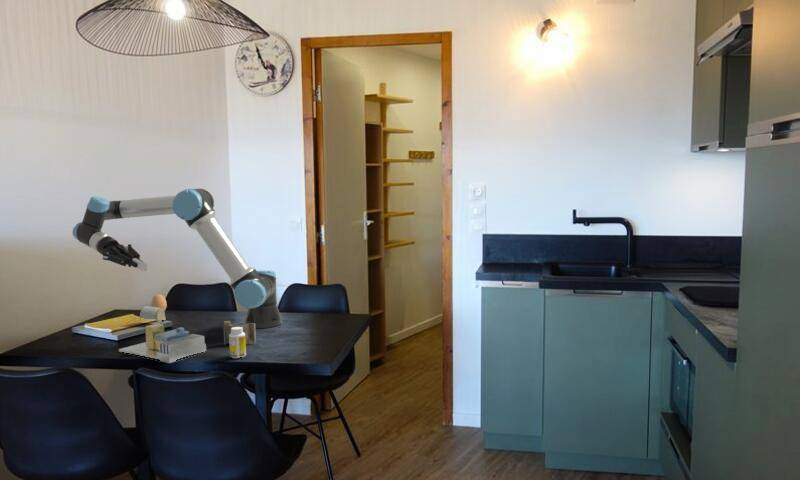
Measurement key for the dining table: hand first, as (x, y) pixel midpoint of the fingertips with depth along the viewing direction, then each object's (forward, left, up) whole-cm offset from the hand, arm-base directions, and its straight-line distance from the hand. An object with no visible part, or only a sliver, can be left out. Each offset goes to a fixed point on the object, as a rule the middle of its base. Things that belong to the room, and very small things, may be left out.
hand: (145, 268), depth 251 cm
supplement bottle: (-37, +29, -29) cm, 55 cm away
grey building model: (-9, +18, -28) cm, 34 cm away
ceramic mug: (+5, -30, -29) cm, 42 cm away
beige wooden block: (-9, +17, -27) cm, 33 cm away
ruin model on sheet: (-35, +11, -29) cm, 47 cm away
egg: (+8, -50, -29) cm, 58 cm away
